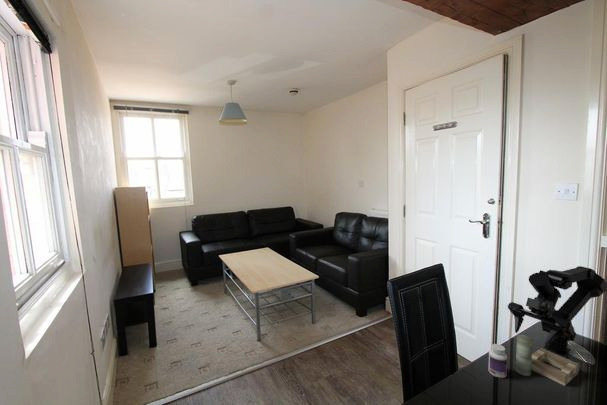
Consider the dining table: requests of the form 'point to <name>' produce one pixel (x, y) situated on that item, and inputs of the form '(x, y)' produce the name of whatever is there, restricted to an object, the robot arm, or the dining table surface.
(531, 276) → the robot arm
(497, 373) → the pill bottle
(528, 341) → the peg
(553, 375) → the holder
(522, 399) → the dining table surface
